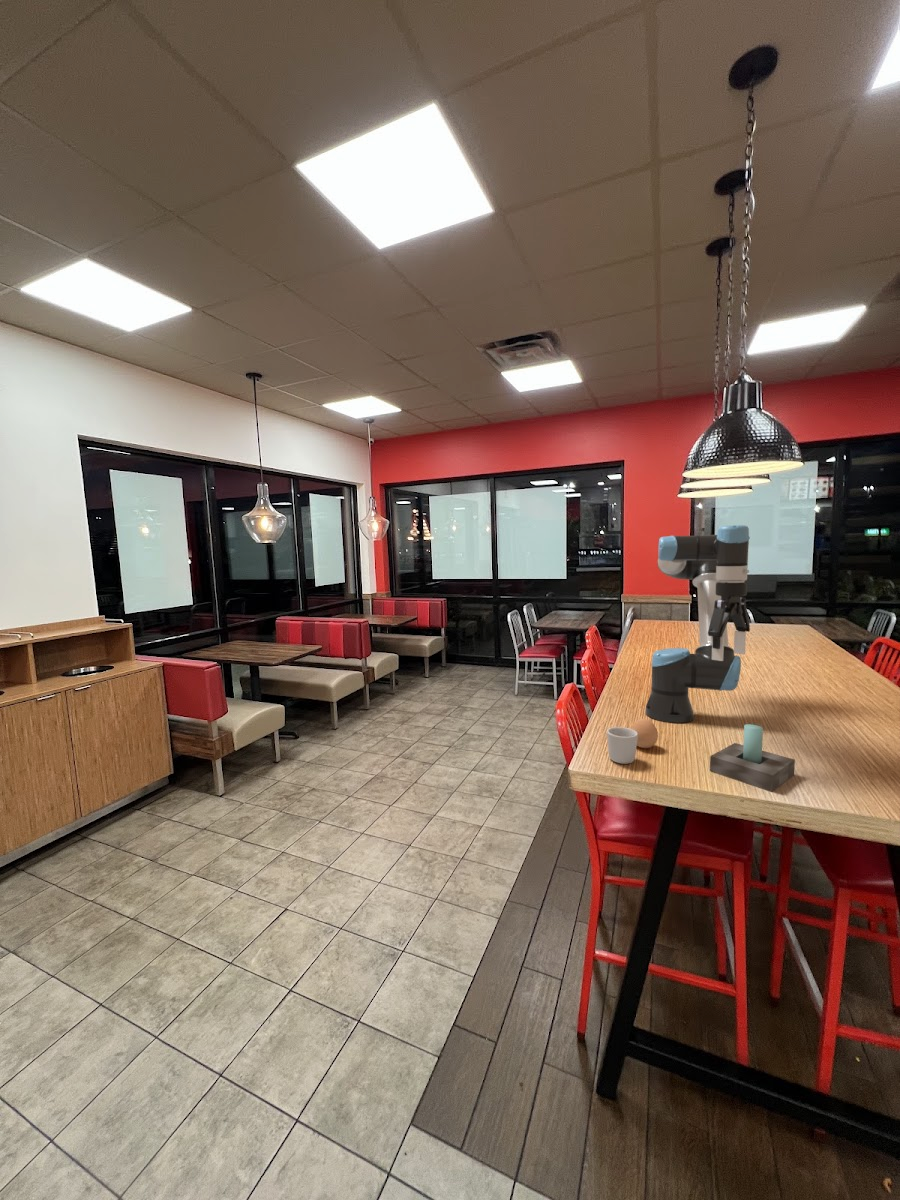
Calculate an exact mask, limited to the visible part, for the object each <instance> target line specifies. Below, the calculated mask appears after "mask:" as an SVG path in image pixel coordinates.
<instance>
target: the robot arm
mask: <svg viewBox="0 0 900 1200" xmlns="http://www.w3.org/2000/svg"><path fill="white" fill-rule="evenodd" d="M749 530H750V528H749V526H747V525H745V524H744V525H743V524H737V525H721V526H719V527H718V528H717V534H704V535H703V534H702V535H669V536H667V535H666V536H661V537H660V538H659V540H658V551H657V552H658V554H657V555H658V558H657V567H658V570H660V572H661V573H662V574H664V575H665V576H667V577H670V578H673V579H678V580H692V585H693V587H695V588H697V607H698V609H697V611H698V629H699V630H698V631H699V632H698V633H699V645H698V647H696V648H695V650H694V653H691V651H690V649H688V648H681V647H672V648H670V647H669V648H663V649H659V650H656V651H655V652H653V654H652V656H651V657H652V658H651V664H650V665H651V689H650V690H651V691H650V695H649V698H648V700H647V703H646V705H645V715H646V716H647V717H648V718H651V719H654V720H657V721H659V722H665V723H677V724H678V723H680V724H681V723H682V724H684V723H689V722H691V721H693V720H694V710H693V707H692V703H691V700H690V697H689V689H698V690H700V689H701V690H709V691H710V690H712V691H719V692H722V691H724V692H725V691H726V692H727V691H729V692H731V691H734V690H736V689H737V687H738V685H739V681H740V676H741V668H742V660H741V657H740V656H739V655H745V654H746V641H747V640H746V637H747V636H746V635H747V632H748V633H749V632H750V630H751V628H750V627H751V624H750V619H749V615H748V610H747V609H748V608H747V599H746V597H745V596H747V594H748V592H747V591H748V583H747V582H745V581H747V580H748V574H749V573H750V570H749V569H748V565H749V564H748V563H749V543H750V541H749V540H750V531H749ZM730 618H731V620H732V622H733V624H734V627H735V629H736V630H734V634H733V635H734V637H733V639H734V640H733V648H732V647H731V646H730V645H729V635H728V623H729V619H730ZM735 654H737V655H735Z"/></svg>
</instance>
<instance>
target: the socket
mask: <svg viewBox="0 0 900 1200" xmlns="http://www.w3.org/2000/svg"><path fill="white" fill-rule="evenodd" d="M709 758H710V759H709V763H710V764H709V771H710V772H711V773H715V774H717V775H721V776H723V777H726V778H729V779H733V780H735V781H739V782H742V783H745V784H748V785H750V786H753V787H757V788H759V789H763V790H764V791H765V790H766V791H768V792H771V793H773V792H774V791H775V790H777V789H778V788H779V787H781V786H782V785H783V784H785V782H787V781H789V779H791V778H793V777H794V776H795V768H796V767H795V763H796V759H794V758H791V757H788V756H787V757H786V756H784V755H783V756H782V755H779V754H777V753H772V752H769V751H765V750H762V763H761V764H757V763H753V762H750V761H747V760H743V744H740V743H736V742H734V743H732V744H730V745H728V746H726V747H724V748H723V749H721V750H719V751H717V752H715V753H713V754H712V755H710V757H709Z"/></svg>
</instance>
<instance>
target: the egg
mask: <svg viewBox="0 0 900 1200" xmlns="http://www.w3.org/2000/svg"><path fill="white" fill-rule="evenodd" d="M656 727H657V726H656V725H655V724H654V723H653V722H652V721H651V720H650V719H649V718H643V717H641V718H639V719H637V720H635V722H634V723H633V724H632V726H631V728H630V729H632V730H635V731H636V732H637V733H638V739H637V747H639V748H640V749H649V748H651V747H653V746H654V745H656V743H657V741H658V740H659V738H658V737H659V733H658V728H656Z"/></svg>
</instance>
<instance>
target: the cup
mask: <svg viewBox="0 0 900 1200" xmlns="http://www.w3.org/2000/svg"><path fill="white" fill-rule="evenodd" d="M606 739H607V748H608V756H609V758H610V760H611V761H613V762H614V763H618V764H623V765H627V764H632V763H633V762H634V761H635V758H636V756H637V755H636V753H637V747H638V746H637V739H638V733H637V732H636V731H635V730H632V729H631V728H628V727H626V726H625V727H623V726H613V727H610V728H607V730H606Z"/></svg>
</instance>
